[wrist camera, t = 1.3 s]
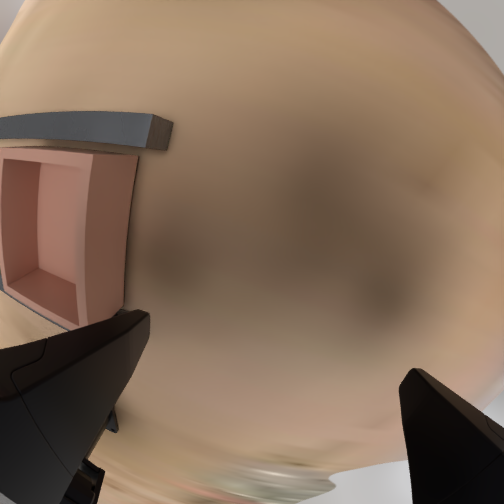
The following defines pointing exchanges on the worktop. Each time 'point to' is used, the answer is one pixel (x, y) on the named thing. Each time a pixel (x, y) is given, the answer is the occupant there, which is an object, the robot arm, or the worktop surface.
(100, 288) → the crate
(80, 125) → the crate bay
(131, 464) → the worktop surface
